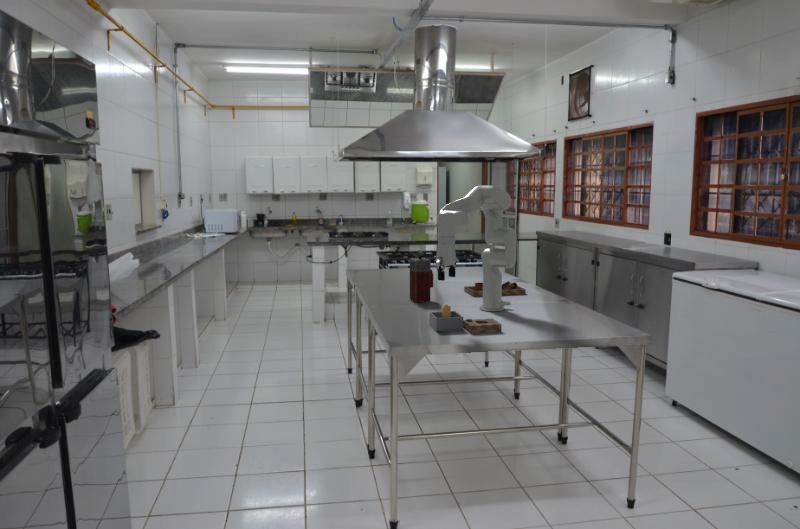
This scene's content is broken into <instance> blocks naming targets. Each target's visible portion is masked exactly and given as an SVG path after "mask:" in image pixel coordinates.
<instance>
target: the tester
mask: <svg viewBox="0 0 800 529" xmlns="http://www.w3.org/2000/svg"><path fill="white" fill-rule="evenodd" d="M463 330H466V331H467V332H468V333H469V335H470V334H471V335H474V334H491V333H502V323H501V322H498V321H497V320H496V319H494V318H479V319H475V318H473V319H472V318H466V319H463Z"/></svg>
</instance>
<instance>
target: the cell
mask: <svg viewBox="0 0 800 529" xmlns="http://www.w3.org/2000/svg"><path fill="white" fill-rule="evenodd" d="M451 307H452V306H451V305H449V303H448V304H445V303H444V305H442V306H441V312H442V318H448V317H451V311H452V309H451Z"/></svg>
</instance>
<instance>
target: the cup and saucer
mask: <svg viewBox="0 0 800 529" xmlns="http://www.w3.org/2000/svg"><path fill="white" fill-rule="evenodd" d="M474 286H475V289H473V291H483V282H475V283H474Z"/></svg>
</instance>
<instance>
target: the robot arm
mask: <svg viewBox="0 0 800 529" xmlns="http://www.w3.org/2000/svg"><path fill="white" fill-rule="evenodd" d="M511 205H512V197H511V194H509V192H507V191H506V190H505V189H503V188H501V187H500V186H498V185H492V184H489V185H488V184H485V185H484V184H483V185H482V184H480V185H477V186H474V187H473V188H472V189H470V191H468V192H467V194H466V195H465V196H464V197H462V198H459V199H457V200H454V201H452V202H450V203H447V204H446V205H445V206H443V207H442V208H441V209H440V210H439V211H438V214H437V215H436V222H437V247H436V256H435V257H436V258H435V259H436V260H435V265H436V266H435V268H436V272H437V281H441V282H442V281H445V280H446V278H445V277H446V275H445V273H446V272H445V269H446V267H448V277H449V278H455V277H456V268H457V261H458V257H457V256H456V255H457V254H456V228H464V227H466V226H467V225H468V224H469V219H470V218H469V215H470V214H474V213H475V212H477V211H478V209H479V208H480V210H481V211H482V212H483V215H484V218H485V219H484V220H485V224H484V229H485V230H484V241H485V243H486V244H487V245H488V246H498V247H504V248H498V247H489V248H485V249H484V250H483V251H482V252H481V264H482V283H483V296H482V305H480V306H479V310H481V311H485V312H501V311H504V310H505V306H511V301H505V300H502V296H503V295H502V284H503V283H502V282H503V276H502V272H501V270H500V269H499V268H502V269H512V268H513V267H514V266H515V264H516V262H517V243H518V242H517V241H518V239H517V238H518V236H517V232H516V230H515V229H514V228H512V227H507V226H505V227H504V226H503V216H502V213H501V211H506V210H508V209H510V207H511Z"/></svg>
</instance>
